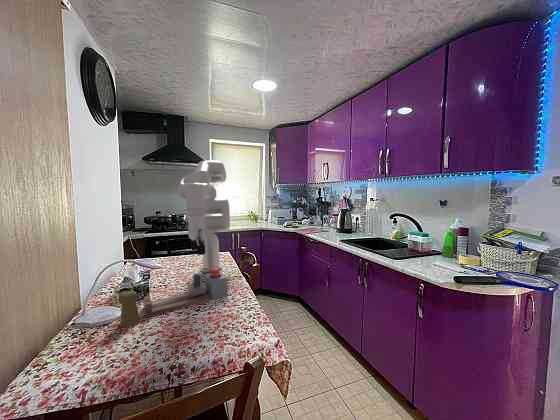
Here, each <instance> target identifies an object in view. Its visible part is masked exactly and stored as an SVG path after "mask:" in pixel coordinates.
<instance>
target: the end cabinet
mask: <svg viewBox="0 0 560 420" xmlns="http://www.w3.org/2000/svg"><path fill="white" fill-rule="evenodd" d="M204 285H205V286H206V290H207V292H208V293H209V295H210V296H211V300H214V299H215V300H216V299H218V298H222V297H224V296H228V295H229V294H228V293H229V291H228V289H229V287H228V277H227V276H226V275H225V274H223V272H221V271H220V277H217V278H211V272H208V273H206V274H205V273H204Z"/></svg>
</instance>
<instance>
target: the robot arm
mask: <svg viewBox="0 0 560 420" xmlns="http://www.w3.org/2000/svg"><path fill="white" fill-rule="evenodd" d="M226 179H227V171H226V168H225V165H224V164H223V162H222V161H220V160H201V161H198V163H197V165H196V168H195V171H194V172H192V173H190V174H188V175H185V176H184V177H182V179H181V180H180V182H179V184H178V187H177V195H178V197H179V199H181V200H183V201H185V203H186V204H185V205H186V207H185V208H186V217H188V220H187V221H188V222H187V224H188V228H187V229H188V230H187V231H188V238H189V239H190V241H191V242H190V244H191V245H190V246H191V251H196V255H197V256H200V255H202V266H201V267H200V269H199V270H200V272H203V273H205V272H206V273H211V272H210V270H209V269H210V268H213V267H220V268H221V270H222V268H223V265H222V264H221V263H220V247H219V246H220V245H219V237H218V235H217V234H216V233H222V232H223V233H225V232H228V231H229V230H230V229H231V219H230V218H231V216H230V215H231V214H230V213H231V212H230V203H229V200H228V199H227V198H224V197H217V189H216V188H215V187H214V186H213V185H212V184H213V183H224V182H226V181H227V180H226ZM211 183H212V184H211ZM206 215H209V216H206Z"/></svg>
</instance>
